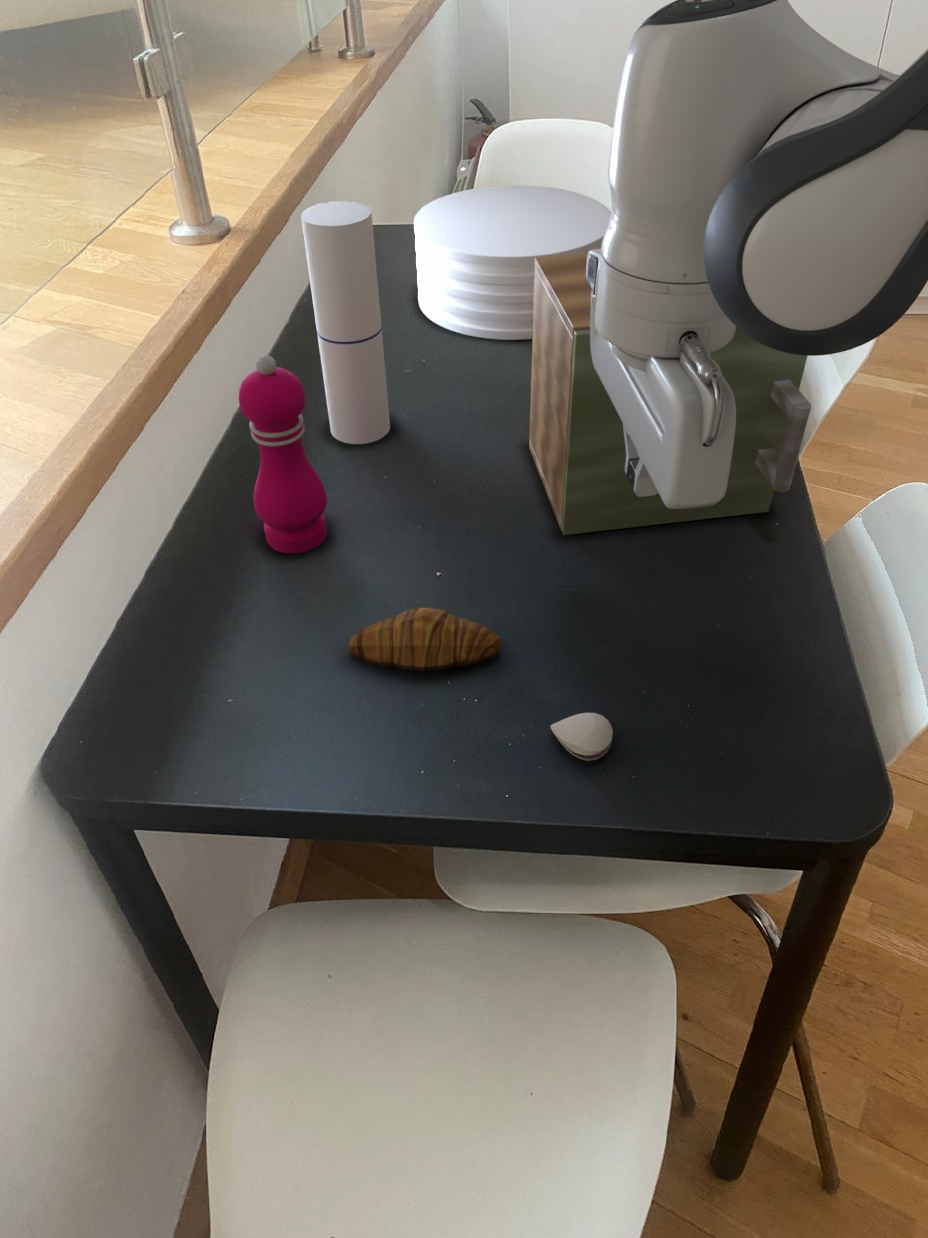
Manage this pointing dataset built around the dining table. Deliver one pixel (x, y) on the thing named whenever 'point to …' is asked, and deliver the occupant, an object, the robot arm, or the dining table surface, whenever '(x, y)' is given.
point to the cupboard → (555, 363)
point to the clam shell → (584, 735)
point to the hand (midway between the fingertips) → (641, 485)
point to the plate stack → (497, 253)
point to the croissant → (425, 641)
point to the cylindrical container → (348, 318)
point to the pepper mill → (283, 460)
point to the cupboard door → (759, 451)
